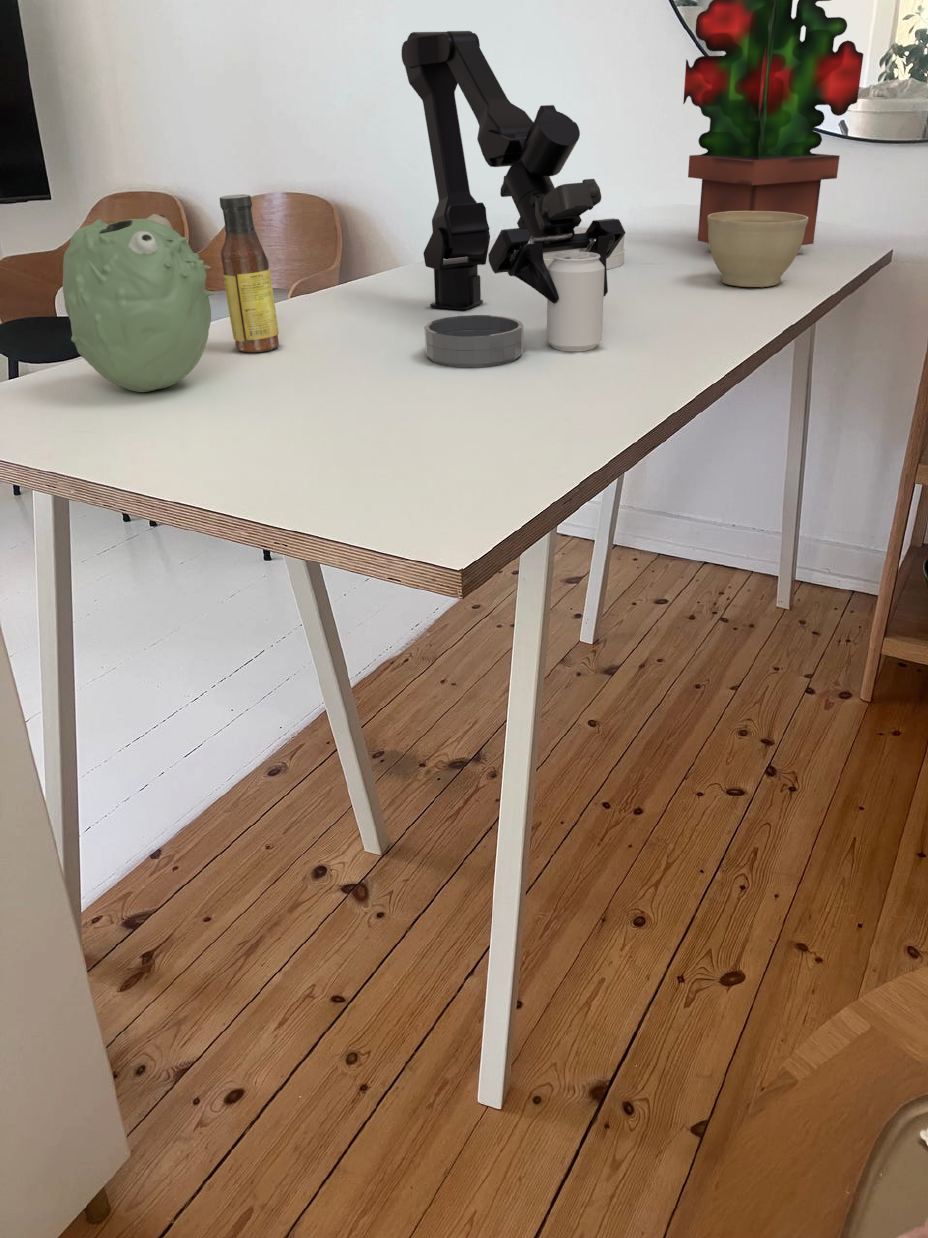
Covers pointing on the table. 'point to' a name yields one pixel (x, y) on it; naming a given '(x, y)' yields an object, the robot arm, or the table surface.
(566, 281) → the can
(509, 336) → the pan
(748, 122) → the potted plant
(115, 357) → the green pufferfish figure
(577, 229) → the dish
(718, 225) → the planter bowl
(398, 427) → the table surface
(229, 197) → the sauce bottle
